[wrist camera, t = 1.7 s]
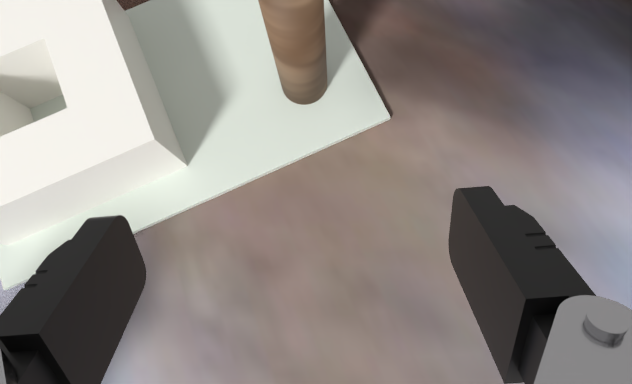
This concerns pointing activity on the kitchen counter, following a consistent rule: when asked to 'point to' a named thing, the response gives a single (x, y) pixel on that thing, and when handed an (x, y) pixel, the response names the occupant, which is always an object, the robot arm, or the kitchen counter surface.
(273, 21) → the dowel
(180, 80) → the mat
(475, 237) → the robot arm
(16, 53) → the hole block
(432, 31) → the kitchen counter surface
